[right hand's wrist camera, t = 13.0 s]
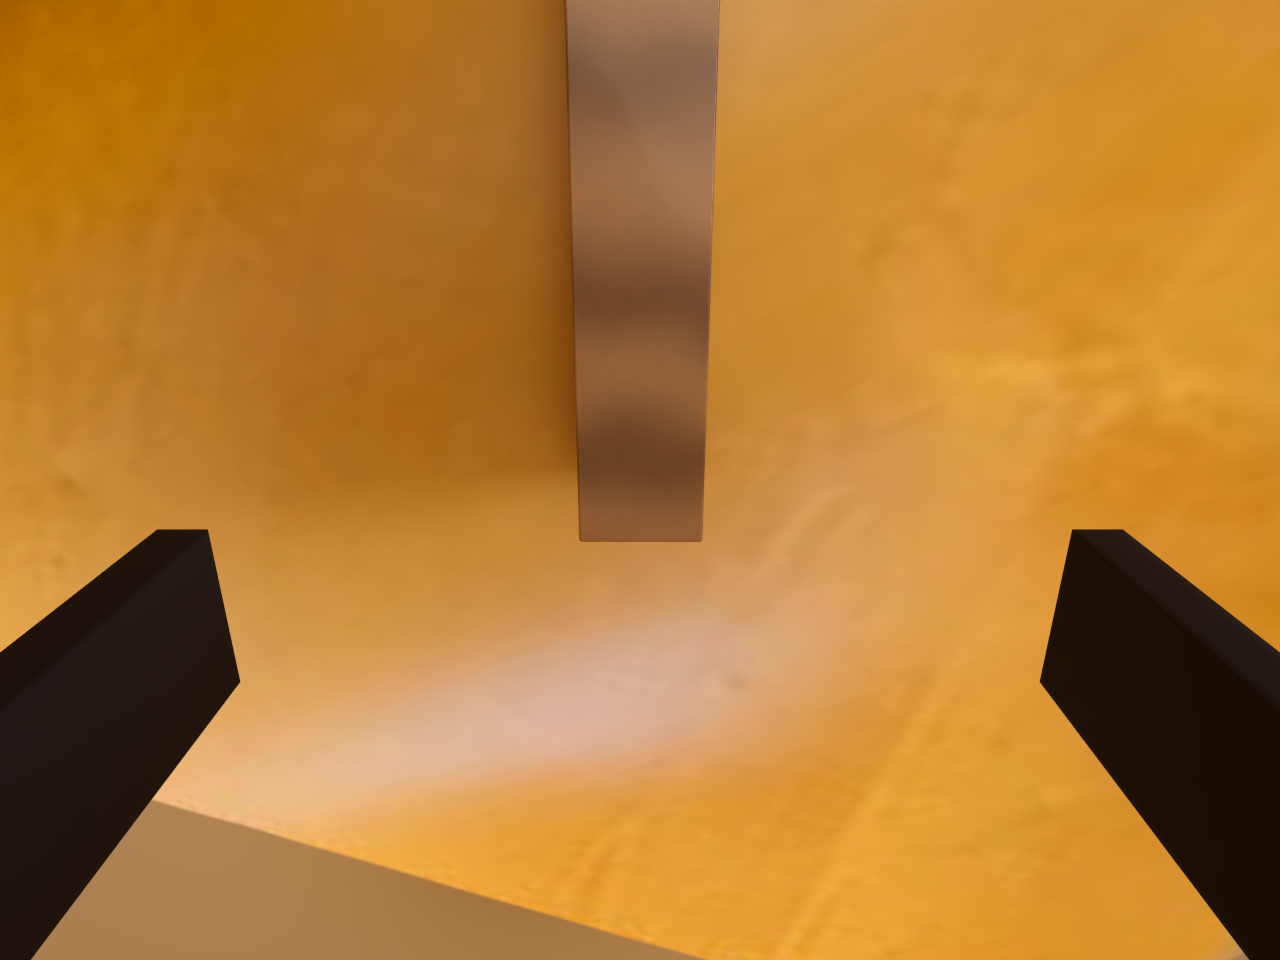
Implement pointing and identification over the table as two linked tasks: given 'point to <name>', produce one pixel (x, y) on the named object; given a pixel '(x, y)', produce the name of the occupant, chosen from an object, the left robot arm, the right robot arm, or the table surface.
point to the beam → (641, 260)
